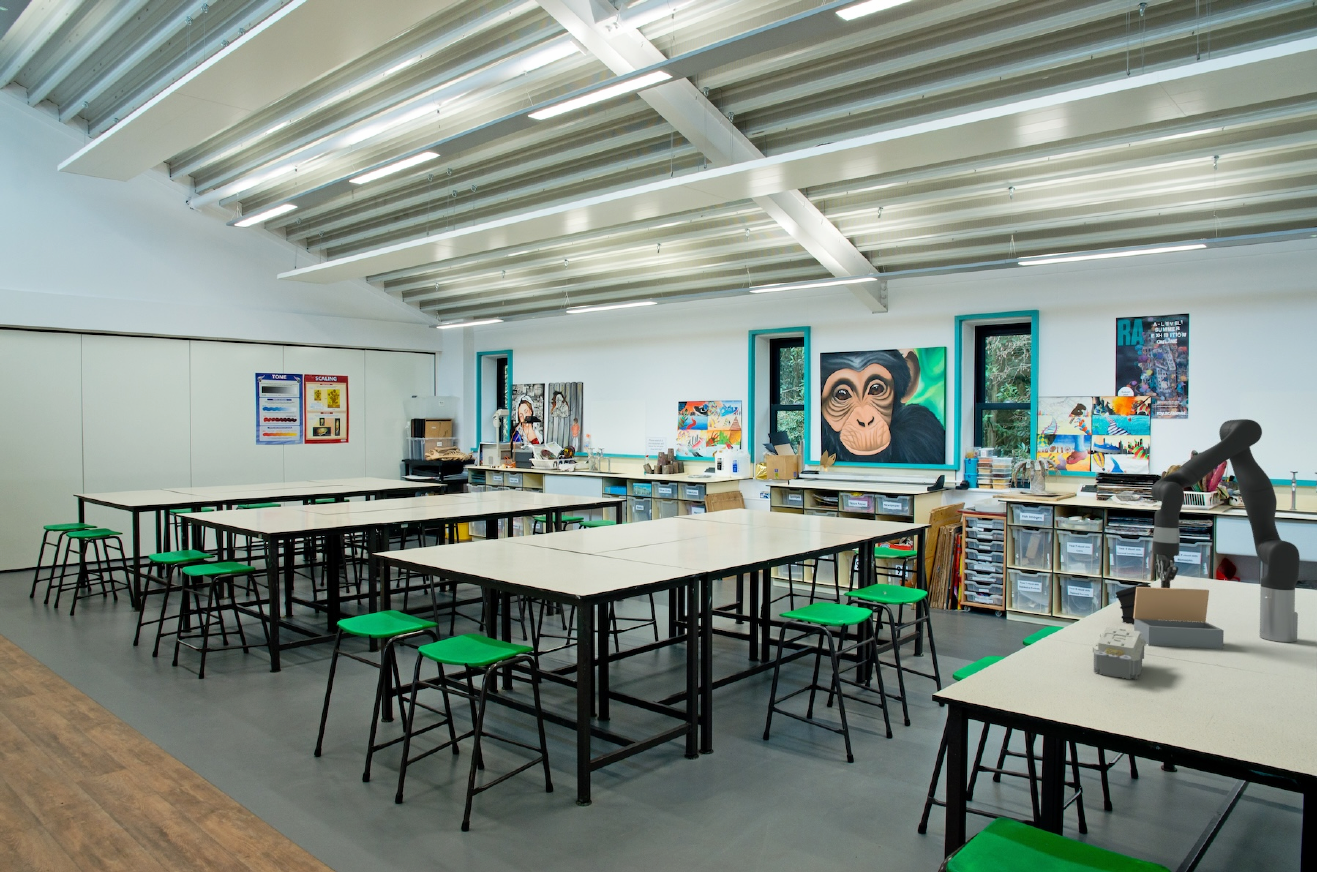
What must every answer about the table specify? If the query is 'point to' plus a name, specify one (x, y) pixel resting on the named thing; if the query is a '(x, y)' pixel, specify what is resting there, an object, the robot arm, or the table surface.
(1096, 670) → the electrical outlet
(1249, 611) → the table surface
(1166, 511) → the robot arm
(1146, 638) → the grey rectangular box
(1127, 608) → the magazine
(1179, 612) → the tan flat rectangular panel
